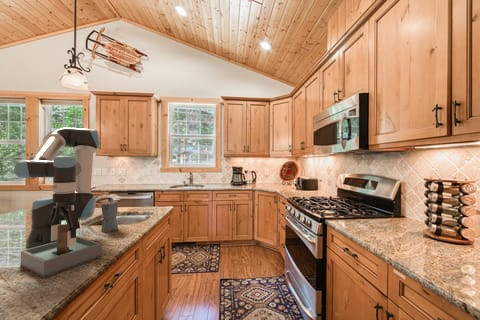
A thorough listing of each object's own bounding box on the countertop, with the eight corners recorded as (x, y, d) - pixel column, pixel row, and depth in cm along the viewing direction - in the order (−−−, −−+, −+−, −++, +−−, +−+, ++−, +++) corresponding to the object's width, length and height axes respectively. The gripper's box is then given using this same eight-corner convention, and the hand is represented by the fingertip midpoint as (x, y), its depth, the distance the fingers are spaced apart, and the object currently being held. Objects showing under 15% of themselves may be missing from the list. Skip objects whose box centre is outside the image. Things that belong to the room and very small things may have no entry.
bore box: (20, 265, 86) (20, 250, 86) (76, 248, 104) (77, 236, 104) (43, 278, 77) (44, 261, 77) (101, 257, 94) (101, 243, 95)
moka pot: (97, 234, 124) (98, 200, 124) (102, 227, 138) (103, 196, 138) (116, 232, 127) (117, 199, 128) (119, 225, 142) (120, 195, 142)
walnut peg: (54, 259, 89) (55, 225, 90) (65, 256, 93) (66, 223, 93) (59, 261, 87) (60, 227, 88) (70, 258, 91) (71, 224, 91)
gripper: (39, 191, 93) (38, 240, 93) (69, 195, 82) (68, 251, 81) (60, 189, 100) (59, 235, 99) (90, 193, 88) (89, 245, 88)
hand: (63, 243), depth 90 cm, fingers open, 13 cm apart
